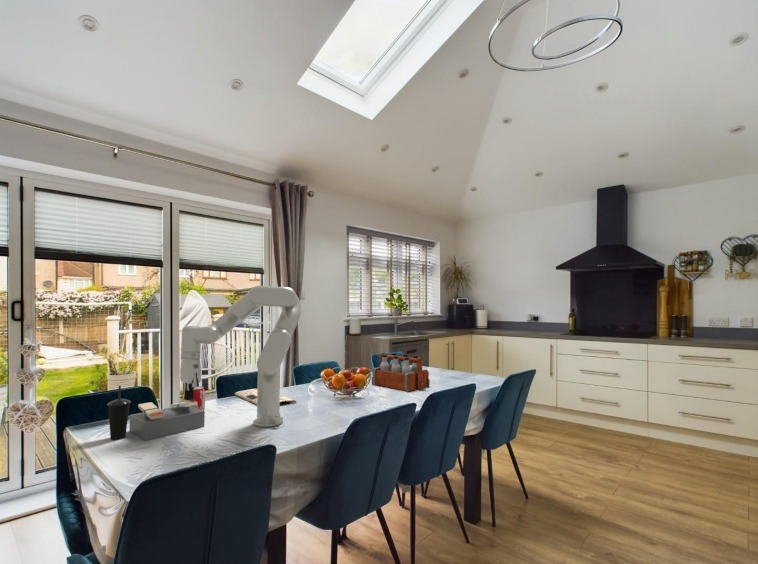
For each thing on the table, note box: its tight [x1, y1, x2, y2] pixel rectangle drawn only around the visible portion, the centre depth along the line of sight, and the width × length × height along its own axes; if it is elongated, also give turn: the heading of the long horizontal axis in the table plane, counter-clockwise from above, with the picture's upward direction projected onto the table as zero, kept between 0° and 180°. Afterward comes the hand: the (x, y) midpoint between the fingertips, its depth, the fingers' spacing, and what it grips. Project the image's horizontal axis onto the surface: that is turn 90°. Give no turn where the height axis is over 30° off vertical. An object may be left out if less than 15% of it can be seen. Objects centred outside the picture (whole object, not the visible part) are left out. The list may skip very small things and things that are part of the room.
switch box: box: [128, 406, 206, 442], centre depth 170 cm, size 22×23×8 cm
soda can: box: [188, 385, 206, 411], centre depth 191 cm, size 7×7×12 cm
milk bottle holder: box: [371, 352, 430, 392], centre depth 255 cm, size 21×35×19 cm, turn 48°
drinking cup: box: [106, 385, 132, 441], centre depth 157 cm, size 8×8×20 cm
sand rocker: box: [137, 401, 165, 420], centre depth 163 cm, size 14×5×2 cm, turn 49°
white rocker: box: [170, 401, 197, 407], centre depth 173 cm, size 14×5×2 cm, turn 49°
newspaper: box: [234, 388, 297, 406], centre depth 219 cm, size 37×19×3 cm, turn 42°
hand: (188, 399), depth 169 cm, fingers closed
